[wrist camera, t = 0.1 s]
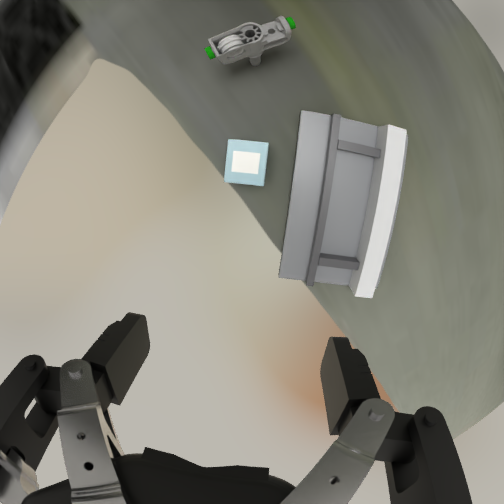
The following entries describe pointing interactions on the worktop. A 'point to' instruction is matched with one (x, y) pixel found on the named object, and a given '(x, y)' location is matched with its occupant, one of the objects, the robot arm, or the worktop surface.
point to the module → (246, 162)
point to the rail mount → (342, 201)
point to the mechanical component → (250, 40)
